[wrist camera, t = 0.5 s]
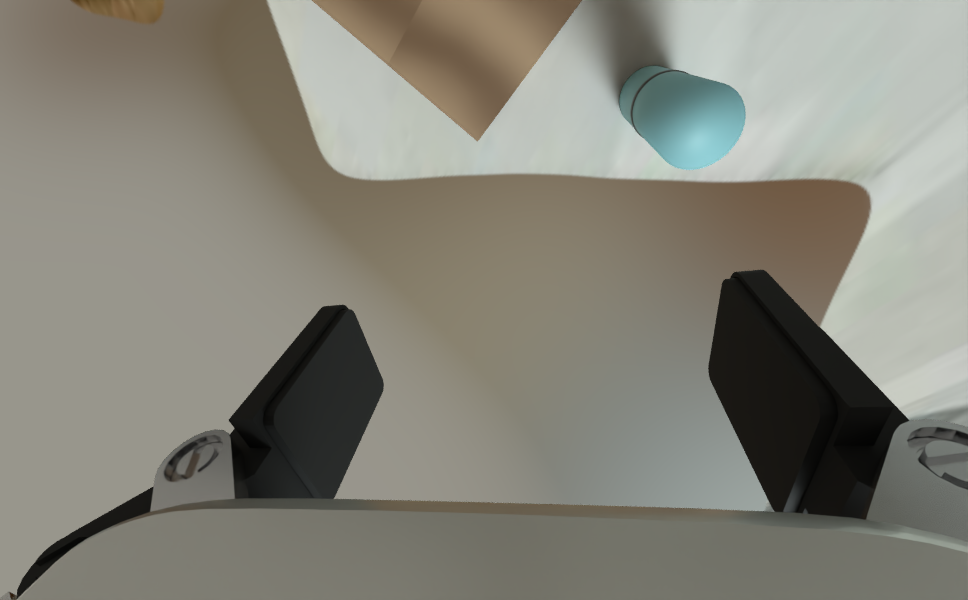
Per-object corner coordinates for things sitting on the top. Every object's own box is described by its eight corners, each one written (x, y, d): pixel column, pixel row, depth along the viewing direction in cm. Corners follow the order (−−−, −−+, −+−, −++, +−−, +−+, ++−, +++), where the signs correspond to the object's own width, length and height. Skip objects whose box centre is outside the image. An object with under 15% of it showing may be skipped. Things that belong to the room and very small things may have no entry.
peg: (651, 50, 28) (710, 59, 18) (689, 92, 29) (765, 121, 19) (606, 101, 30) (637, 134, 20) (643, 138, 31) (690, 186, 21)
